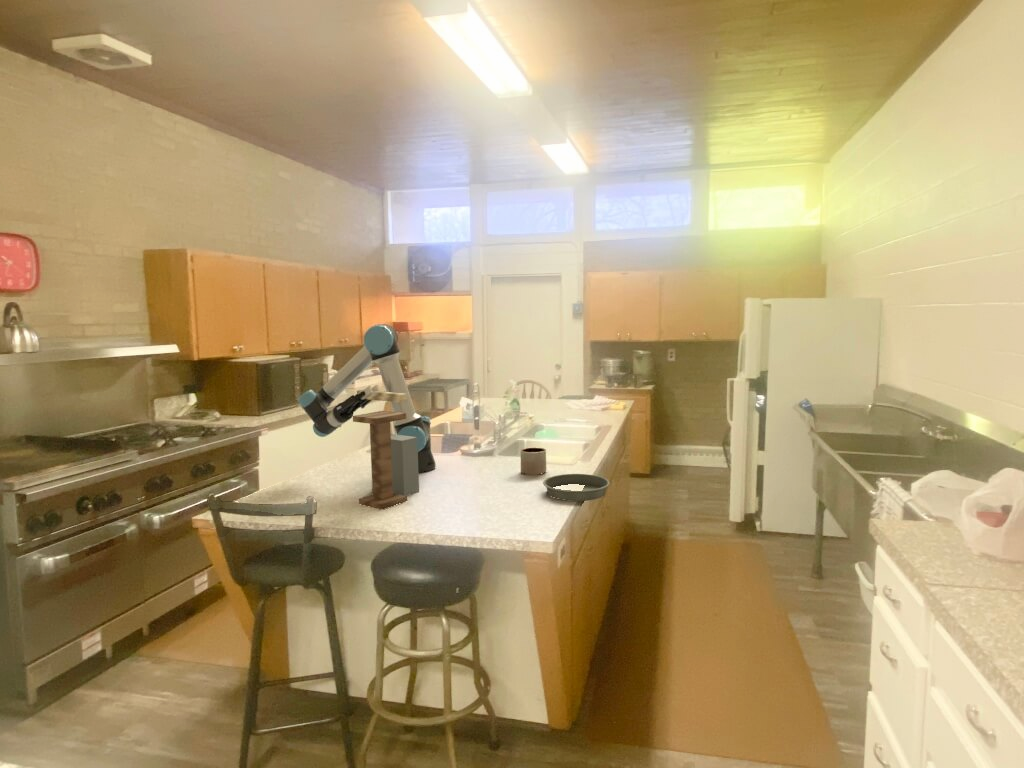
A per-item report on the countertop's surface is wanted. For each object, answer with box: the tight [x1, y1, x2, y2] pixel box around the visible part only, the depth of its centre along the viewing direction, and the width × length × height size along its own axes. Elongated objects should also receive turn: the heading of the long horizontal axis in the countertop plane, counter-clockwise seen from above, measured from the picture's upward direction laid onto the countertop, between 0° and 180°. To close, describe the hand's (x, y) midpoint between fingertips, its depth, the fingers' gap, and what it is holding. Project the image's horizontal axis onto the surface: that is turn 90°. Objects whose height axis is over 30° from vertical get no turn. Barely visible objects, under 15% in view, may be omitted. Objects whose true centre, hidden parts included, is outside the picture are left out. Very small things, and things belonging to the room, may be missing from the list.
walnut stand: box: [352, 410, 408, 510], centre depth 235 cm, size 12×14×32 cm
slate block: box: [369, 433, 420, 496], centre depth 251 cm, size 17×8×21 cm, turn 54°
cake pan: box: [542, 473, 611, 502], centre depth 245 cm, size 25×25×4 cm
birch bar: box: [356, 389, 407, 403], centre depth 251 cm, size 24×3×3 cm, turn 54°
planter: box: [520, 446, 547, 475], centre depth 278 cm, size 11×11×10 cm
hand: (374, 388), depth 253 cm, fingers closed on birch bar, 3 cm apart
